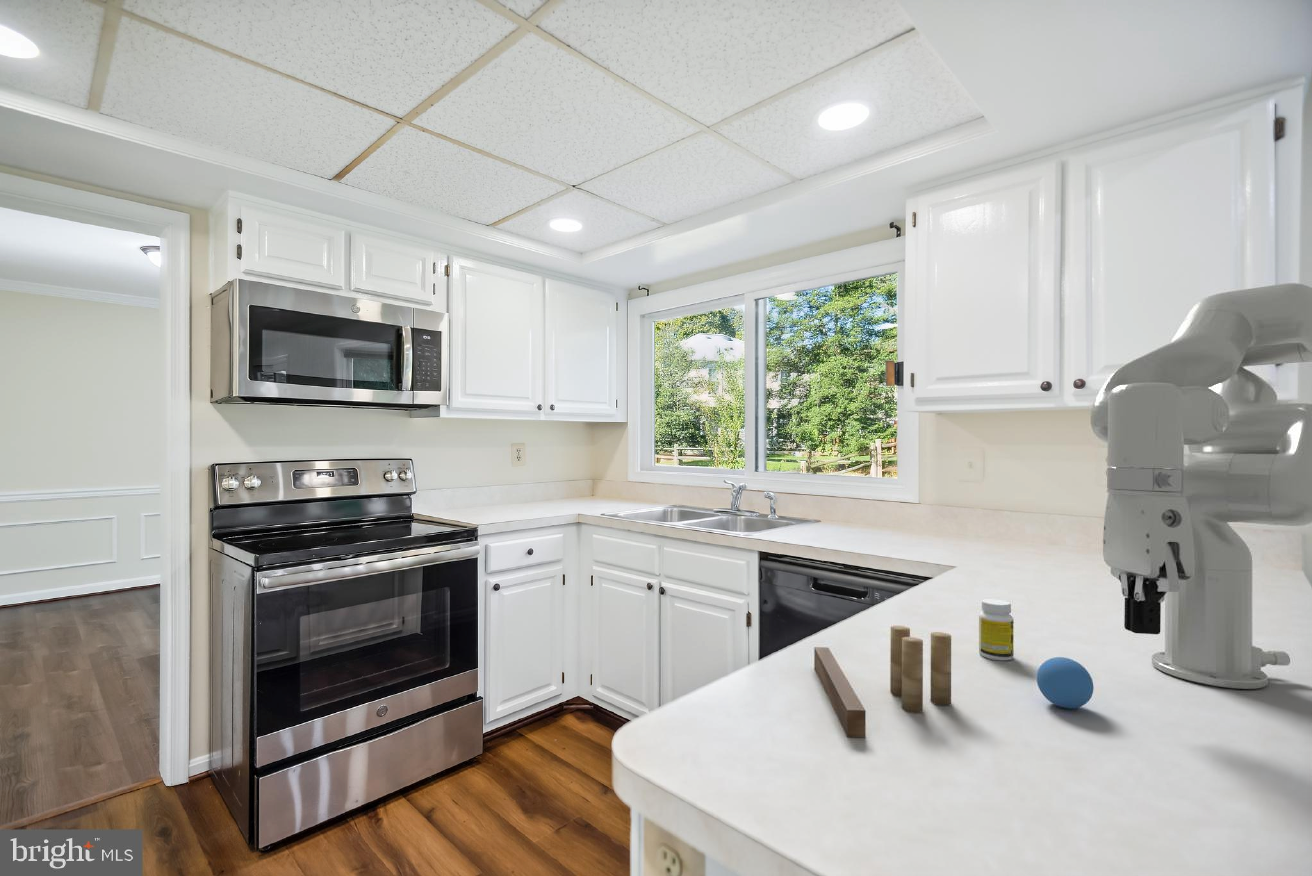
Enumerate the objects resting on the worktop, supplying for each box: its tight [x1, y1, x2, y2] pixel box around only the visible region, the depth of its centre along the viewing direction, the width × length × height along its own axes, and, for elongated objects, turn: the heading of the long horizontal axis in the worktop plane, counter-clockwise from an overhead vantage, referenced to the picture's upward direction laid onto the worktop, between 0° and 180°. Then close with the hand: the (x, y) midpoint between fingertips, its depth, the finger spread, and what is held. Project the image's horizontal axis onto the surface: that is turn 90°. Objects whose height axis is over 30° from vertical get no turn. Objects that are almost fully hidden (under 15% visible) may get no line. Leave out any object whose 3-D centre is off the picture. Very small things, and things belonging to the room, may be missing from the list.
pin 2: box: [901, 636, 924, 714], centre depth 79 cm, size 2×2×8 cm
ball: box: [1036, 656, 1095, 709], centre depth 80 cm, size 6×6×6 cm
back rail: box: [813, 646, 867, 739], centre depth 82 cm, size 2×22×3 cm, turn 175°
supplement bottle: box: [978, 598, 1015, 662], centre depth 99 cm, size 5×5×8 cm
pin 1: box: [889, 625, 911, 697], centre depth 84 cm, size 2×2×8 cm
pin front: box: [930, 631, 952, 707], centre depth 81 cm, size 2×2×8 cm
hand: (1142, 631), depth 79 cm, fingers closed
